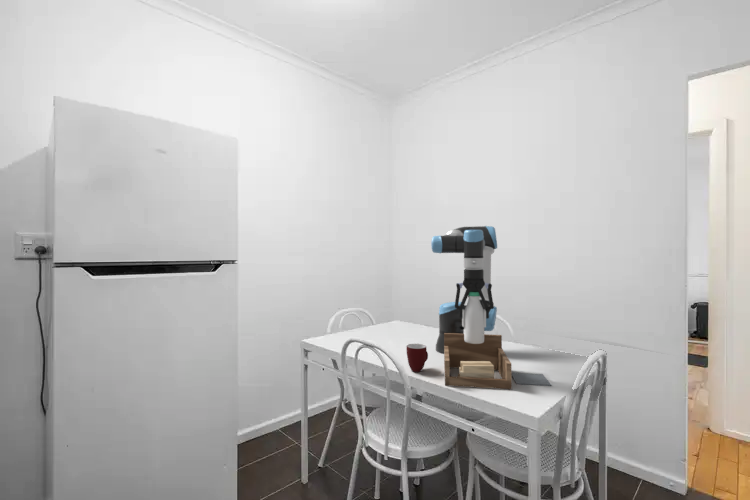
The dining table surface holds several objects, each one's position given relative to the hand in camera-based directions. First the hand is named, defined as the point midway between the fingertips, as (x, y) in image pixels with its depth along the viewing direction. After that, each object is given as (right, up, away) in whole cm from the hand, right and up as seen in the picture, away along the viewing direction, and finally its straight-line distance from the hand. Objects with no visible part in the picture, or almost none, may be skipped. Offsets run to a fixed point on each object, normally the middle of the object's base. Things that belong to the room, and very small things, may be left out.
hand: (473, 326), depth 149 cm
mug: (-22, -19, +5) cm, 29 cm away
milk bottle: (0, -6, 0) cm, 6 cm away
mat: (+19, -19, -7) cm, 28 cm away
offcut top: (-1, -14, -10) cm, 17 cm away
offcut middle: (-2, -17, -10) cm, 19 cm away
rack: (-1, -19, -4) cm, 19 cm away
